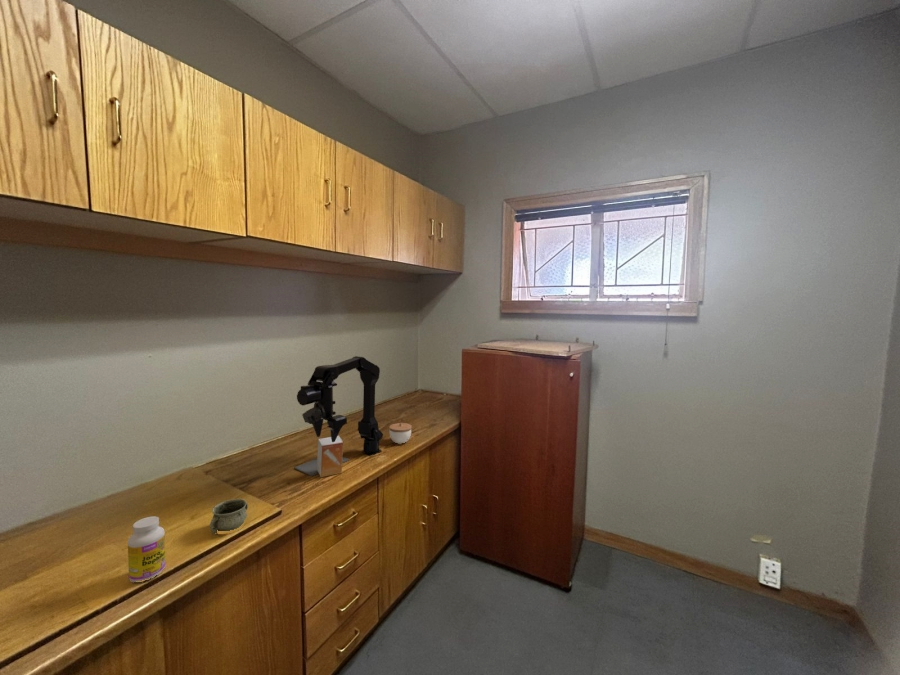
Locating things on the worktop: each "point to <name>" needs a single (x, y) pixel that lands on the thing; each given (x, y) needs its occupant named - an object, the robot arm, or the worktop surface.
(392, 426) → the lidded jar
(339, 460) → the small box
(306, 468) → the mat
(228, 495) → the worktop surface
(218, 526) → the vessel
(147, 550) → the supplement bottle
